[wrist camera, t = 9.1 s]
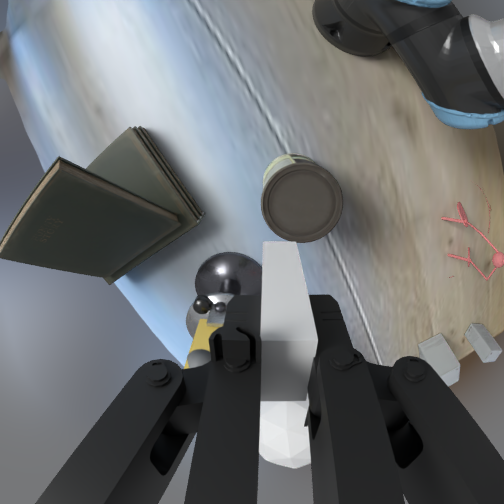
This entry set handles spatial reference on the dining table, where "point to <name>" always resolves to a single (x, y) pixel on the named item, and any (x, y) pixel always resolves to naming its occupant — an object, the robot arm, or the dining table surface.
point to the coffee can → (300, 199)
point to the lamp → (284, 433)
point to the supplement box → (440, 358)
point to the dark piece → (102, 212)
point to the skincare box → (483, 342)
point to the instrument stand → (222, 287)
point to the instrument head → (200, 346)
